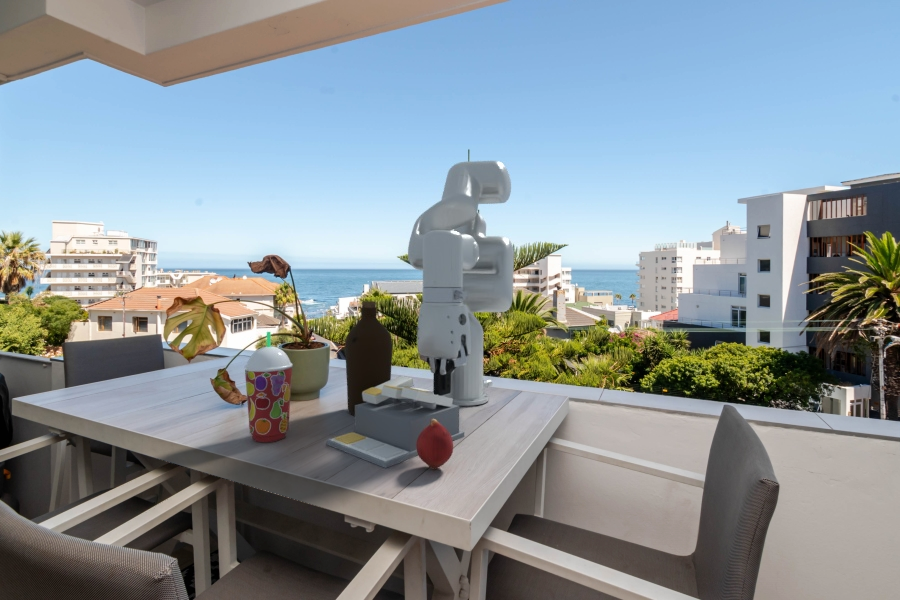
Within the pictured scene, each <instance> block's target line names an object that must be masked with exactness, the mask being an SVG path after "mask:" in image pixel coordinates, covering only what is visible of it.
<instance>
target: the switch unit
mask: <svg viewBox="0 0 900 600" xmlns="http://www.w3.org/2000/svg"><path fill="white" fill-rule="evenodd" d="M431 419H436V420H437V422H439V423H440V424H441V425H442V426H444V427H445V428H446V429H447V430H448V431H449V433H450V435H451V437H452V440H453V442H454V441H456V440H458V439H461V438H464V437H465V431H461V430H460V406H458V405H454V404H452V407H448V406H443V405H438V404H436V408H435V409H430V408H426V407H422V406H418V405H417V400H415V401H412V404H410V403H406V402H402V401H399V400H398V398H394V399H391V398H388V399H386V400H384V401H382V402H380V403H378V404H374V403H370V402H366V403H362V404H358V405H355V415H354V431H351V432H348V433H344V434H342V435H338V436H335V437H331V438H328V439H326V441H325V442H326V445H327V446H329V447H332V448H335V449H336V450H339V451H341V452H345V453H346V454H349V455H352V456H355V457H357V458H359V459H362V460H365V461H366V462H370V463H372V464H375V465H377V466H380V467H382V468H385V469H387V468H389V467H392V466H394V465H398V464H400V463H401V462H405V461H406V460H409V459H411V458H412V459H413V458H414V457H416V456H419V455H418V453H417V447H416V443H417V439H418V436H419V435H420V433H421V432H422V431H423V430H424V429H425V428H426V427H427V426H429V425H430V420H431Z"/></svg>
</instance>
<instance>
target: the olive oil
mask: <svg viewBox="0 0 900 600" xmlns="http://www.w3.org/2000/svg"><path fill="white" fill-rule="evenodd" d="M376 305H377V302H376V301H373V300H371V301H370V300H369V301H368V300H367V301H366V300H364V301H361V309H360V310H361V312H360V313H361V317H360V318H359V320H358V322H357V323H356V324H355V325H354V326H353V327H352V328H351V329H350V330H349V332H348V333H347V336H346V338H345V341H344V354H345V372H346V373H345V374H346V389H347V390H346V391H347V392H346V393H347V395H346V396H347V411H348V414H349V415H351V416H355V405H358V404H362V403H366V401H363V396H362V393H363V391H365V390H367V389H369V388H371V387H376V386H378V385H380V384H383V383H385V382H387V381H389V380H391V379H392V361H393V360H392V359H393V340H392V336H391V333H390V331H388V329H387V328H386V327H385V326H384V325H383V324H382V323H381V321H379V320H378V318H377V306H376Z"/></svg>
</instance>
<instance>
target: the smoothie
mask: <svg viewBox="0 0 900 600" xmlns="http://www.w3.org/2000/svg"><path fill="white" fill-rule="evenodd" d="M271 334H272V333H271V331H266V346H263V347H261V348H259V349H256V350H255V351H254V352H253V353H252V354H251V355H250V357H249V358H248V360H247V362H246V364H245V365H244V376H245V388H246V389H245V390H246V400H247V413H248V415H247V416H248V427H249V434H250V435H252V439H253V441H255V442H257V443H273V442H277V441H280V440H282V439H284V438H285V437H286V434H287V431H289V429H290V428H289V427H290V425H289V424H290V409H291V391H292V390H291V389H292V374H293V373H292V372H293V363H292V362H291V359H290V358H289V356H288V355H287V353H286V352H285V351H284V350H282V349H281V348H278V347H277V346H272V345H271V344H272V343H271V339H272V338H271V337H272V335H271Z"/></svg>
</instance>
